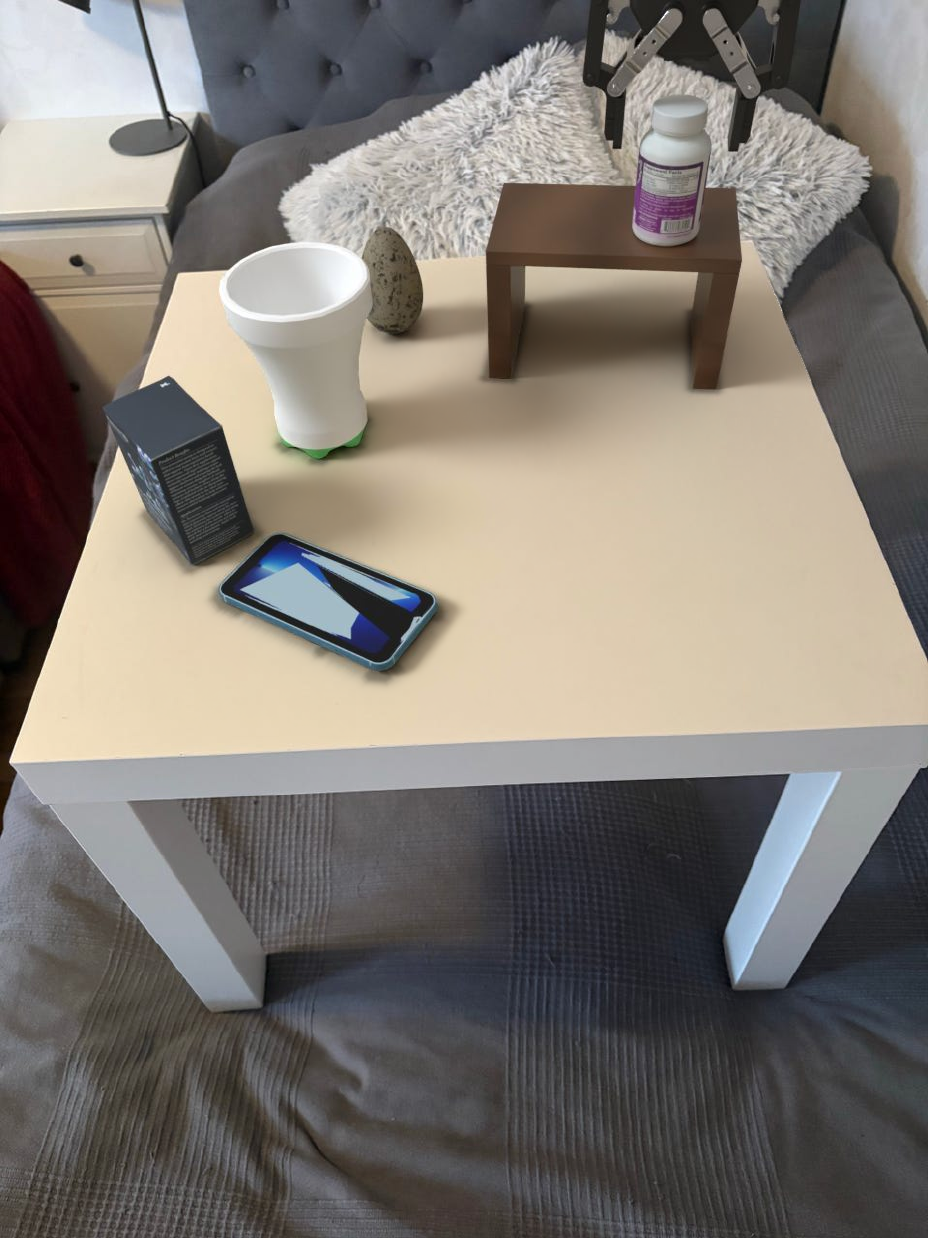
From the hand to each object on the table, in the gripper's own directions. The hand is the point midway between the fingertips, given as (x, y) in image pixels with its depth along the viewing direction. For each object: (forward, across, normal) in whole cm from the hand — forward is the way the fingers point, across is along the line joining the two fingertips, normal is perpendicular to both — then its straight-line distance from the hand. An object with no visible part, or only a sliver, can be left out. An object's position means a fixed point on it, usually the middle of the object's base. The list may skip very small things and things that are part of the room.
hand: (674, 146), depth 69 cm
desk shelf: (+19, -4, +2) cm, 19 cm away
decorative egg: (+19, -24, +3) cm, 31 cm away
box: (+19, -34, -25) cm, 46 cm away
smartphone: (+19, -22, -32) cm, 43 cm away
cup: (+19, -27, -13) cm, 35 cm away
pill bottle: (+7, 0, 0) cm, 7 cm away
